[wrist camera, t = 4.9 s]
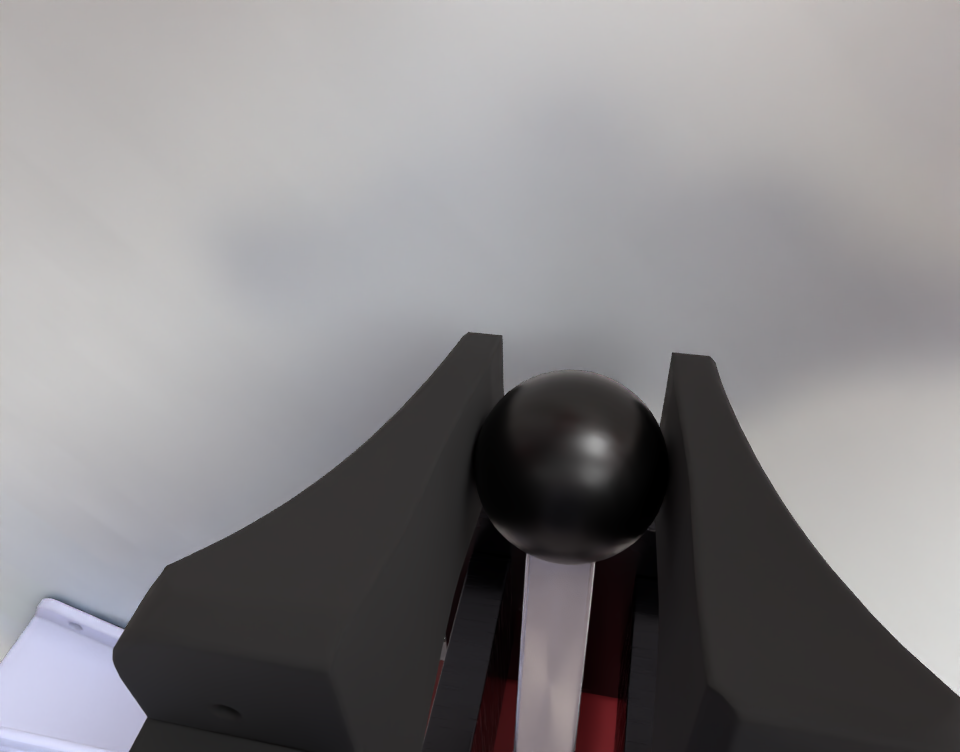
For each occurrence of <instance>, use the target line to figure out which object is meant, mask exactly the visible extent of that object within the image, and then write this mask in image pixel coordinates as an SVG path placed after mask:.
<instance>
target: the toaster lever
mask: <svg viewBox="0 0 960 752" xmlns="http://www.w3.org/2000/svg"><path fill="white" fill-rule="evenodd" d="M668 475H669V460H668V452H667V448H666V443H665V439H664V436H663V434H662V431H661V429H660V427H659V425H658V423H657V421H656V419H655V418H654V416H653V414H652V413H651V411H650V410H649V409H648V407H647V406H646V405H645V404H644V403H643V402H642V401H641V400H640V399H639V398H638V397H637V396H636V395H635V394H634V393H633V392H631V391H630V390H629V389H627V388H626V387H625V386H623V385H622V384H620V383H618V382H616V381H615V380H613V379H610V378H608V377H606V376H603V375H600V374H597V373H593V372H588V371H582V370H559V371H553V372H548V373H544V374H541V375H538V376H535V377H532V378H530V379H528V380H526V381H524V382H522V383H520V384H519V385H518V386H516V387H515V388H513V389H512V390H511V391H509V392H508V393H507V394H506V395H505V396H504V397H503V398H501V399H500V401H499V402H498V403H497V404H496V405H495V406H494V408H493V409H492V411H491V412H490V414H489V415H488V417H487V419H486V420H485V422H484V424H483V426H482V429H481V431H480V434H479V437H478V441H477V445H476V448H475V457H474V477H475V482H476V488H477V492H478V495H479V498H480V501H481V504H482V506H483V508H484V510H485V512H486V514H487V515H488V517H489V519H490V520H491V522H492V523H493V525H494V526H495V527H496V529H497V530H498V531H499V532H500V533H501V534H502V535H503V536H504V537H505V538H506V539H507V540H508V541H509V542H511V543H512V544H513V545H515V546H516V547H517V548H519V549H520V550H522V551H524V552H526V564H525V579H524V594H523V610H522V625H521V640H520V656H519V671H518V686H517V701H516V717H515V732H514V747H513V752H575V749H576V740H577V730H578V721H579V712H580V703H581V693H582V684H583V675H584V666H585V656H586V647H587V638H588V629H589V619H590V610H591V601H592V592H593V582H594V573H595V564H596V562H597V561H601V560H604V559H607V558H610V557H612V556H614V555H616V554H618V553H620V552H622V551H623V550H625V549H626V548H628V547H629V546H630V545H632V544H633V543H635V542H636V541H637V540H638V539H639V538H640V537H641V536H642V535H643V534H644V533H645V532H646V530H647V529H648V528H649V526H650V525H651V524H652V523H653V521H654V519H655V518H656V516H657V514H658V513H659V510H660V508H661V505H662V503H663V500H664V498H665V495H666V490H667V486H668Z"/></svg>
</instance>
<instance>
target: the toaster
mask: <svg viewBox="0 0 960 752" xmlns="http://www.w3.org/2000/svg"><path fill="white" fill-rule="evenodd" d="M446 651H447V649H446V642H443V647H442V652H441V657H440V662H439V666H438V671H437V676H436V681H435V686H434V690H433V695H432V700H431V706H430V711H429V716H428V721H427V725H428V722H429V718H430V714H431V710H432V706H433V702H434V698H435V694H436V690H437V686H438V683H439V679H440V675H441V671H442V667H443V663H444V659H445V655H446ZM517 686H518V681H517V680H511V679H507V682H506V687H505V693H504V698H503V703H502V709H501V714H500V719H499V725H498V730H497V735H496V741H495V746H494V751H493V752H513V747H514V732H515V717H516V701H517ZM617 700H618V698H612V697H606V696H601V695H595V694H590V693H584V692H582V693H581V703H580V712H579V721H578V730H577V740H576V749H575V752H614V741H615V727H616V714H617ZM426 729H427V726H426ZM425 733H426V731H425ZM424 737H425V736H424Z"/></svg>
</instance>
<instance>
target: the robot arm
mask: <svg viewBox="0 0 960 752" xmlns="http://www.w3.org/2000/svg"><path fill="white" fill-rule="evenodd" d="M503 397H504V389H503V341H502V335H492V334H482V333H472V332H468V333H467V334H465V335H464V336H463V337H462V338H461V339H460V341H459V342H458V343H457V345H456V346H455V347H454V348H453V350H452V351H451V352H450V353H449V355H448V356H447V357H446V358H445V360H444V361H443V362H442V363H441V364H440V366H439V367H438V368H437V369H436V370H435V371H434V373H433V374H432V375H431V376H430V377H429V378H428V380H427V381H426V382H425V383H424V384H423V385H422V386H421V387H420V388H419V389H418V390H417V392H416V393H415V394H414V395H413V396H412V397H411V398H410V399H409V400H408V401H407V402H406V403H405V405H404V406H403V407H402V408H401V409H400V410H399V411H398V412H397V413H396V414H395V415H394V416H393V417H391V418H390V419H389V420H388V421H387V422H386V423H385V424H384V425H383V426H382V427H381V428H380V429H379V430H378V431H377V432H376V433H375V434H374V435H373V436H372V437H371V438H370V439H368V440H367V441H366V442H365V443H364V444H363V445H362V446H361V447H359V448H358V449H357V450H356V451H355V452H354V453H352V454H351V455H350V456H349V457H348V458H346V459H345V460H344V461H343V462H341V463H340V464H339V465H338V466H336V467H335V468H334V469H333V470H331V471H330V472H329V473H327V474H326V475H325V476H323V477H322V478H320V479H319V480H318V481H316V482H315V483H314V484H312V485H311V486H309V487H308V488H307V489H305V490H304V491H303V492H301V493H300V494H298V495H297V496H295V497H294V498H292V499H291V500H289V501H288V502H286V503H285V504H283V505H282V506H280V507H278V508H277V509H275V510H273V511H272V512H270V513H268V514H267V515H265V516H263V517H262V518H260V519H258V520H257V521H255V522H253V523H252V524H250V525H248V526H246V527H244V528H243V529H241V530H239V531H237V532H235V533H234V534H232V535H230V536H228V537H226V538H224V539H222V540H220V541H218V542H216V543H214V544H212V545H210V546H208V547H206V548H204V549H202V550H199V551H197V552H195V553H193V554H191V555H189V556H187V557H185V558H183V559H181V560H179V561H176V562H174V563H172V564H170V565H167V566H166V567H165V569H164V570H163V572H162V573H161V575H160V576H159V577H158V578H157V580H156V581H155V582H154V584H153V585H152V586H151V588H150V589H149V591H148V592H147V594H146V595H145V597H144V598H143V600H142V601H141V603H140V605H139V606H138V608H137V610H136V611H135V613H134V615H133V616H132V618H131V620H130V621H129V623H128V625H127V626H126V628H125V630H124V629H122V628H120V627H117V626H115V625H113V624H111V623H108V622H106V621H104V620H101V619H99V618H97V617H94V616H92V615H90V614H87V613H85V612H83V611H80V610H78V609H76V608H74V607H71V606H69V605H67V604H64V603H62V602H60V601H57V600H55V599H51V598H45V599H42V601H41V602H40V603H39V605H38V606H37V608H36V612H35V616H34V617H33V618H32V620H31V621H30V622H29V624H28V625H27V627H26V628H25V629H24V631H23V632H22V634H21V635H20V636H19V638H18V639H17V641H16V642H15V643H14V645H13V646H12V648H11V649H10V650H9V652H8V653H7V655H6V656H5V657H4V659H3V660H2V661H1V663H0V752H422V747H423V741H424V736H425V731H426V726H427V721H428V716H429V711H430V706H431V700H432V695H433V690H434V686H435V681H436V676H437V671H438V666H439V662H440V657H441V652H442V647H443V642H444V638H445V633H446V629H447V624H448V620H449V615H450V611H451V606H452V602H453V597H454V593H455V590H456V586H457V583H458V579H459V575H460V572H461V569H462V566H463V563H464V560H465V557H466V554H467V551H468V548H469V545H470V542H471V539H472V536H473V533H474V530H475V527H476V524H477V521H478V518H479V515H480V512H481V509H482V504H481V501H480V498H479V495H478V492H477V488H476V482H475V477H474V457H475V448H476V445H477V441H478V437H479V434H480V431H481V429H482V426H483V424H484V422H485V420H486V419H487V417H488V415H489V414H490V412H491V411H492V409H493V408H494V406H495V405H496V404H497V403H498V402H499V401H500V399H501V398H503ZM660 429H661V431H662V434H663V436H664V439H665V443H666V448H667V452H668V460H669V475H668V486H667V490H666V495H665V498H664V500H663V503H662V505H661V508H660V510H659V513H658V514H657V516H656V518H655V525H656V548H657V571H658V594H659V635H658V653H657V670H656V687H655V703H654V719H653V735H652V750H651V752H960V697H959V696H958V695H957V694H956V693H954V692H953V691H952V690H951V689H950V688H949V687H948V686H947V685H946V684H944V683H943V682H942V681H941V680H940V679H939V678H938V677H937V676H936V675H934V674H933V673H932V672H931V671H930V670H929V669H928V668H927V667H926V666H925V665H923V664H922V663H921V662H920V661H919V660H918V659H917V658H916V657H915V656H913V655H912V654H911V653H910V652H909V651H908V650H907V649H906V648H905V647H903V646H902V645H901V644H900V643H899V642H898V641H897V640H896V639H895V638H894V637H893V636H892V635H891V633H890V632H889V631H888V630H887V629H886V628H885V627H884V626H883V625H882V624H881V623H880V622H879V621H878V620H877V619H876V618H875V617H874V616H873V615H872V614H871V613H870V612H869V611H868V609H867V608H866V607H865V606H864V605H863V604H862V603H861V601H860V600H859V599H858V598H857V597H856V596H855V595H854V593H853V592H852V591H851V590H850V589H849V588H848V587H847V586H846V584H845V583H844V582H843V581H842V580H841V579H840V578H839V576H838V575H837V574H836V573H835V572H834V571H833V570H832V568H831V567H830V566H829V565H828V563H827V562H826V561H825V560H824V558H823V557H822V556H821V554H820V553H819V552H818V551H817V549H816V548H815V547H814V545H813V544H812V543H811V542H810V540H809V539H808V538H807V536H806V535H805V533H804V532H803V531H802V529H801V528H800V526H799V525H798V524H797V522H796V521H795V519H794V518H793V517H792V515H791V514H790V512H789V511H788V509H787V508H786V506H785V505H784V503H783V502H782V500H781V498H780V497H779V495H778V494H777V492H776V490H775V489H774V487H773V485H772V484H771V482H770V480H769V479H768V477H767V475H766V474H765V472H764V470H763V469H762V467H761V465H760V463H759V461H758V460H757V458H756V456H755V454H754V452H753V450H752V448H751V446H750V444H749V442H748V441H747V439H746V437H745V435H744V433H743V431H742V429H741V427H740V425H739V423H738V420H737V418H736V416H735V414H734V412H733V409H732V407H731V405H730V402H729V400H728V398H727V395H726V393H725V390H724V388H723V385H722V382H721V379H720V376H719V373H718V370H717V367H716V363H715V362H714V360H713V359H712V358H711V357H710V356H702V355H692V354H682V353H672V357H671V363H670V369H669V375H668V381H667V387H666V393H665V399H664V405H663V411H662V417H661V423H660Z"/></svg>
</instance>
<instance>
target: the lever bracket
mask: <svg viewBox="0 0 960 752" xmlns="http://www.w3.org/2000/svg"><path fill="white" fill-rule="evenodd" d="M525 564H526V552H524V551H522V550H520V549H519V548H517V547H516V546H515V545H513V544H512V543H511V542H509V541H508V540H507V539H506V538H505V537H504V536H503V535H502V534H501V533H500V532H499V531H498V530H497V529H496V527H495V526H494V525H493V523H492V522H491V520H490V519H489V517H488V515H487V514H486V512H485V510H484V508H483V506H482V509H481V512H480V515H479V518H478V521H477V524H476V527H475V530H474V533H473V536H472V539H471V542H470V545H469V548H468V551H467V554H466V557H465V560H464V563H463V566H462V569H461V572H460V575H459V579H458V583H457V586H456V590H455V593H454V597H453V602H452V606H451V611H450V615H449V620H448V624H447V629H446V633H445V641H446V649H447V651H446V655H445V659H444V663H443V667H442V671H441V675H440V679H439V683H438V686H437V690H436V694H435V698H434V702H433V706H432V710H431V714H430V718H429V722H428V725H427V729H426V733H425V737H424V741H423V747H422V752H493V751H494V746H495V741H496V735H497V730H498V725H499V719H500V714H501V709H502V703H503V698H504V693H505V687H506V682H507V679H511V680H517V681H518V671H519V656H520V640H521V625H522V610H523V594H524V579H525ZM658 635H659V594H658V571H657V548H656V525H655V519H654V521H653V523H652V524H651V525H650V526H649V528H648V529H647V530H646V532H645V533H644V534H643V535H642V536H641V537H640V538H639V539H638V540H637V541H636V542H635V543H633V544H632V545H630V546H629V547H628V548H626V549H625V550H623V551H622V552H620V553H618V554H616V555H614V556H612V557H610V558H607V559H604V560H601V561H597V562H596V564H595V573H594V582H593V592H592V601H591V610H590V619H589V629H588V638H587V647H586V656H585V666H584V675H583V684H582V692H584V693H590V694H595V695H601V696H606V697H612V698H618V700H617V714H616V727H615V741H614V752H651V750H652V735H653V719H654V703H655V687H656V670H657V653H658Z"/></svg>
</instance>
